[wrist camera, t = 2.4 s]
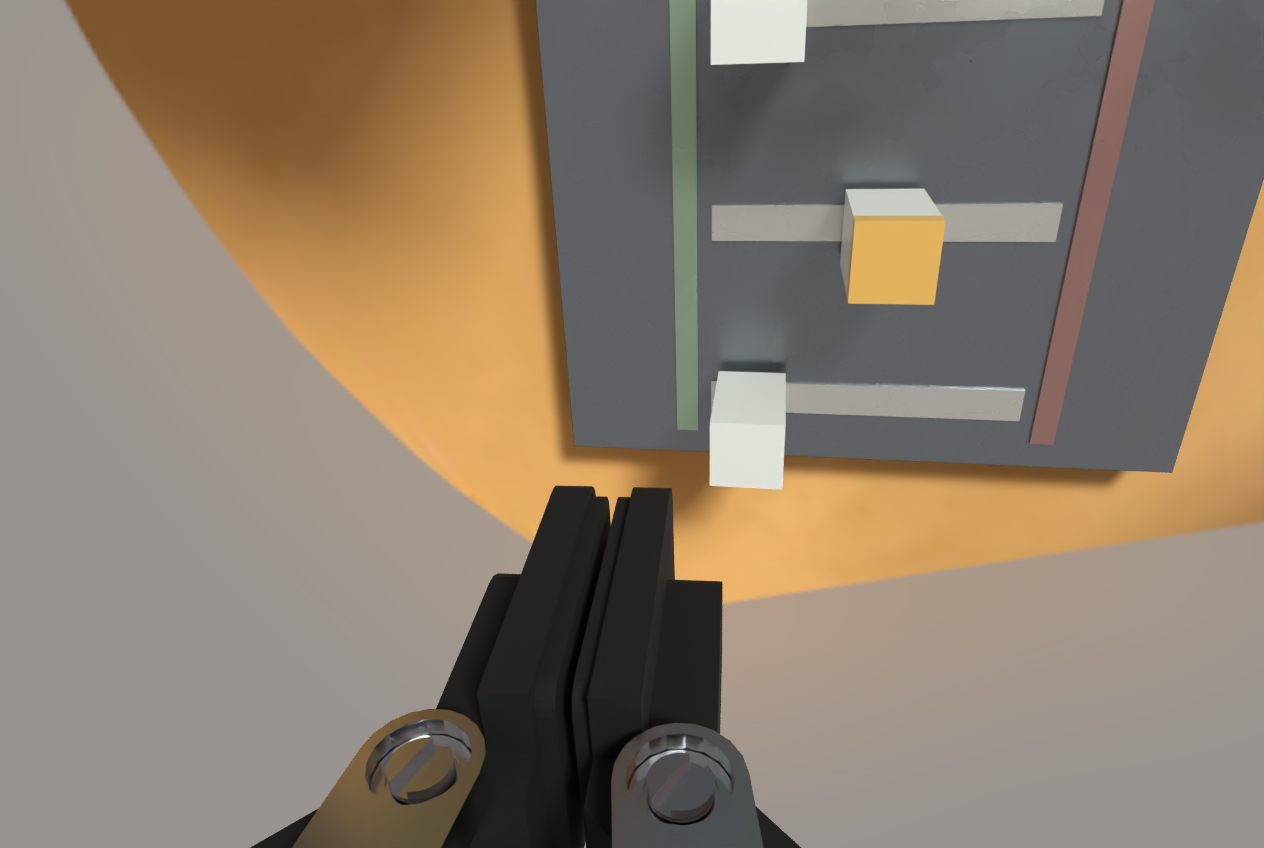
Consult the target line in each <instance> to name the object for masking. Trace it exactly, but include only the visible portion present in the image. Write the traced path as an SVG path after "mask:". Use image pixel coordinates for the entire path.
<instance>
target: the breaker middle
mask: <svg viewBox="0 0 1264 848" xmlns="http://www.w3.org/2000/svg"><path fill="white" fill-rule="evenodd" d="M945 223H946V221H945V219H944V218H943V216H942V215H941V213H940V212H939V210H938V209H937V207H936V206H935V204H934V203H933V201H932V200H931V198H930V197H929V195H928V193H927V192H926V190H925V189H846V193H845V206H844V219H843V231H842V244H841V257H840V265H841V270H842V275H843V280H844V286H845V291H846V296H847V301H848V304H912V305H934V303H935V296H936V288H937V281H938V274H939V266H940V259H941V252H942V245H943V237H944V230H945Z"/></svg>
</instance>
